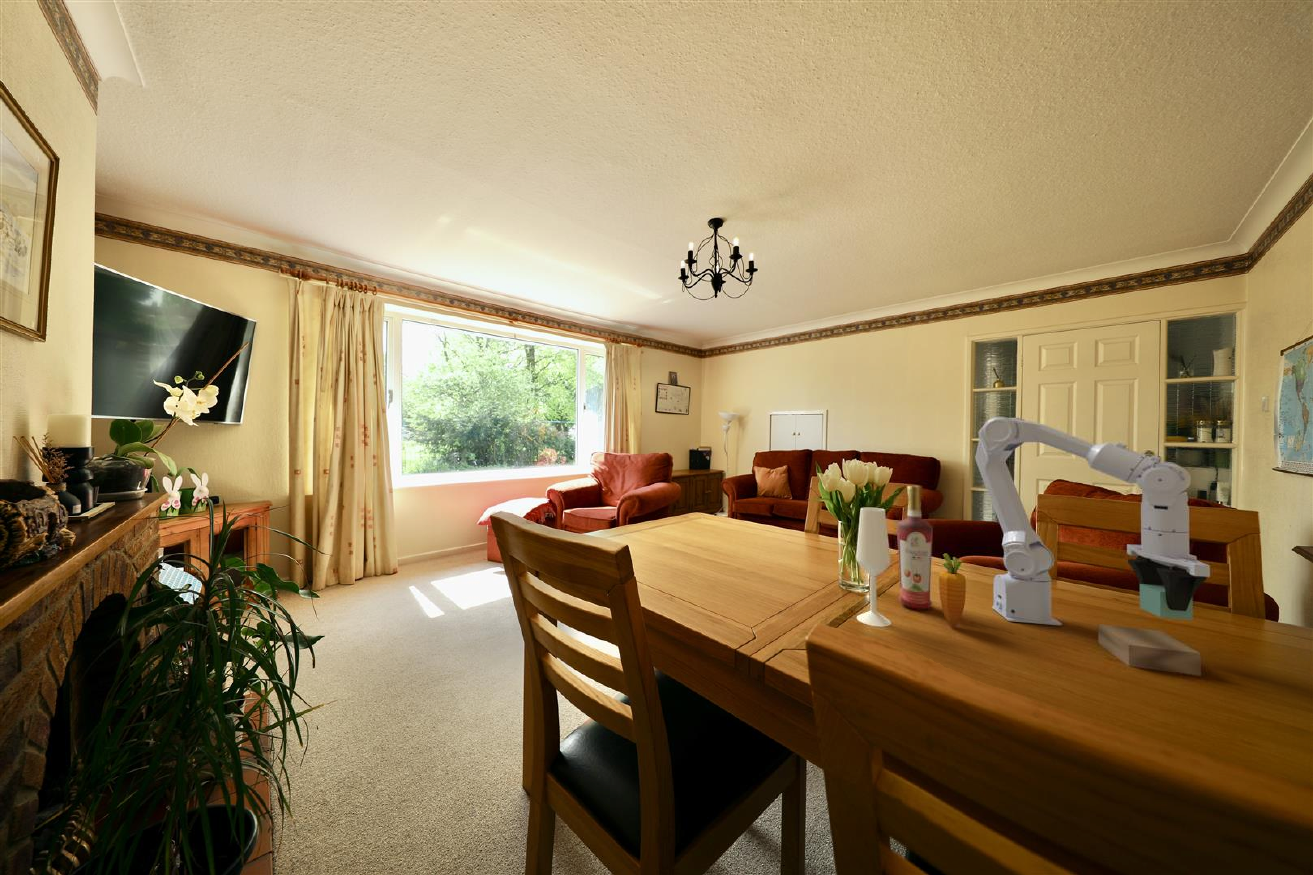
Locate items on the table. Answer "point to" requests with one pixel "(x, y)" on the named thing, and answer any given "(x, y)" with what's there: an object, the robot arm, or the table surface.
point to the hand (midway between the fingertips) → (1165, 604)
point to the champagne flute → (873, 557)
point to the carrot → (952, 591)
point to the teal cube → (1161, 603)
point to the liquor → (914, 554)
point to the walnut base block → (1149, 649)
